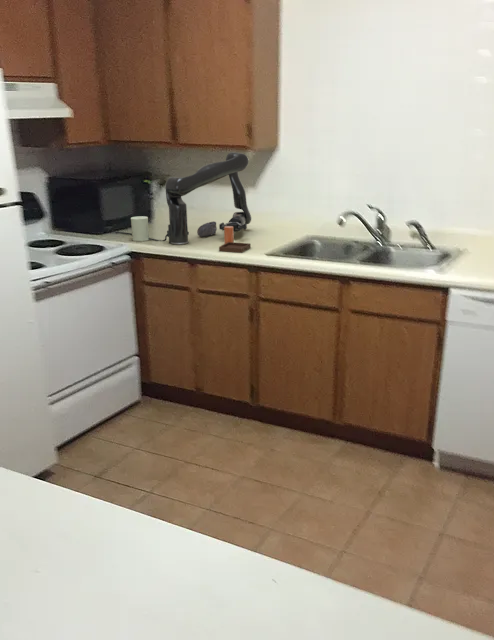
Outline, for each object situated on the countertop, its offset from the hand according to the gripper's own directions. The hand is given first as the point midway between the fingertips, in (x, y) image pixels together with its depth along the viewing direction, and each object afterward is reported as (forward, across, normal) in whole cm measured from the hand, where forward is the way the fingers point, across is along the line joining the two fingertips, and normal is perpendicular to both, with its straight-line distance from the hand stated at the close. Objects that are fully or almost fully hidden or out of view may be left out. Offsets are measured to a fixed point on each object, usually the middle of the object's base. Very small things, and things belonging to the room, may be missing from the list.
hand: (230, 228), depth 347 cm
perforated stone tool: (-15, -16, +7) cm, 23 cm away
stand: (+17, +5, +7) cm, 19 cm away
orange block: (+6, 0, +7) cm, 9 cm away
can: (-1, -50, +7) cm, 50 cm away
